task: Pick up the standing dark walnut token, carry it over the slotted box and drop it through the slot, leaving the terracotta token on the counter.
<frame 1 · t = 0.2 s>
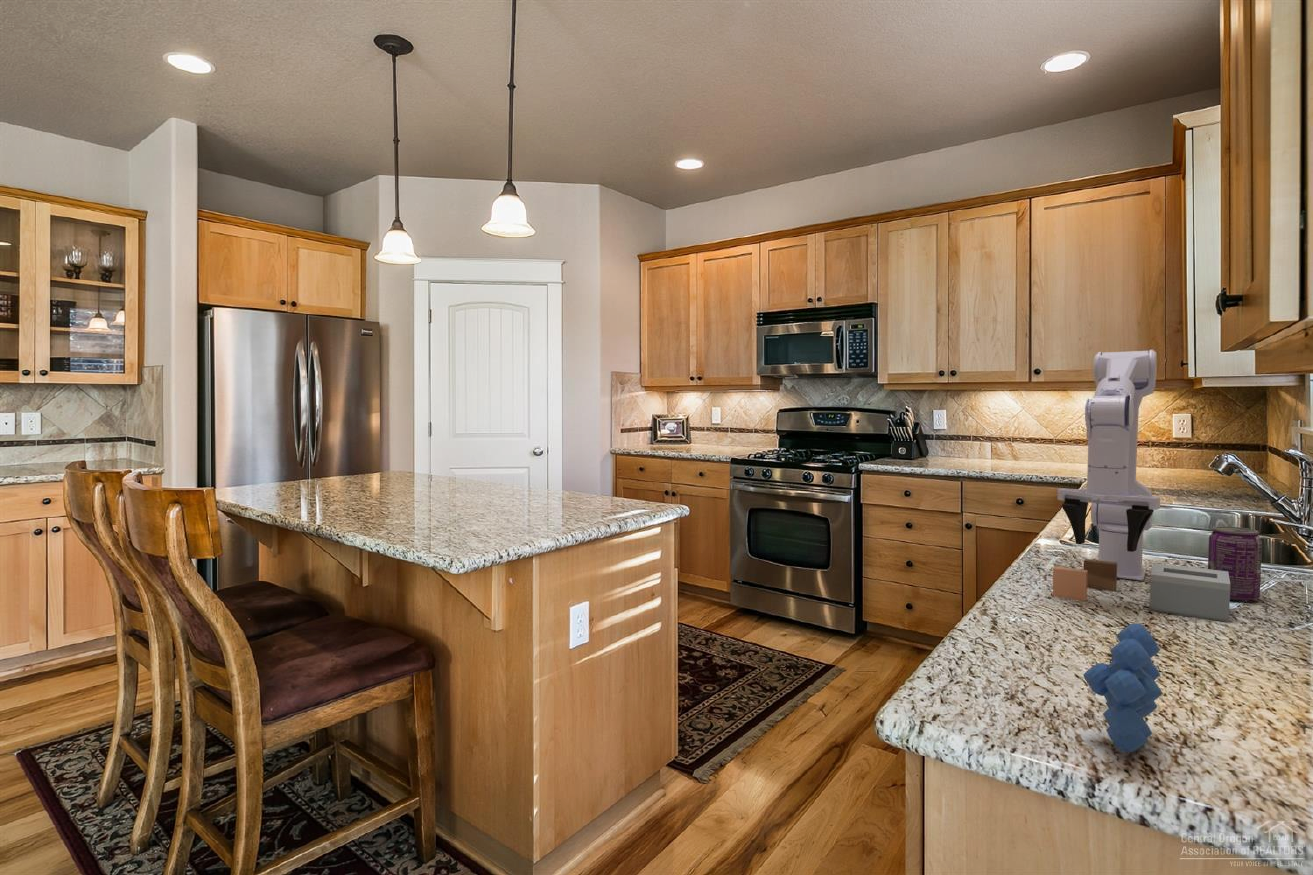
hand: (1105, 546, 116), 10 cm above the table, tool pointing down, fingers open, 7 cm apart
beverage can: (1232, 598, 120), on the table
terracotta token: (1069, 597, 121), on the table
grapes: (1119, 742, 70), on the table
coin box: (1188, 608, 114), on the table
walnut token: (1099, 588, 126), on the table
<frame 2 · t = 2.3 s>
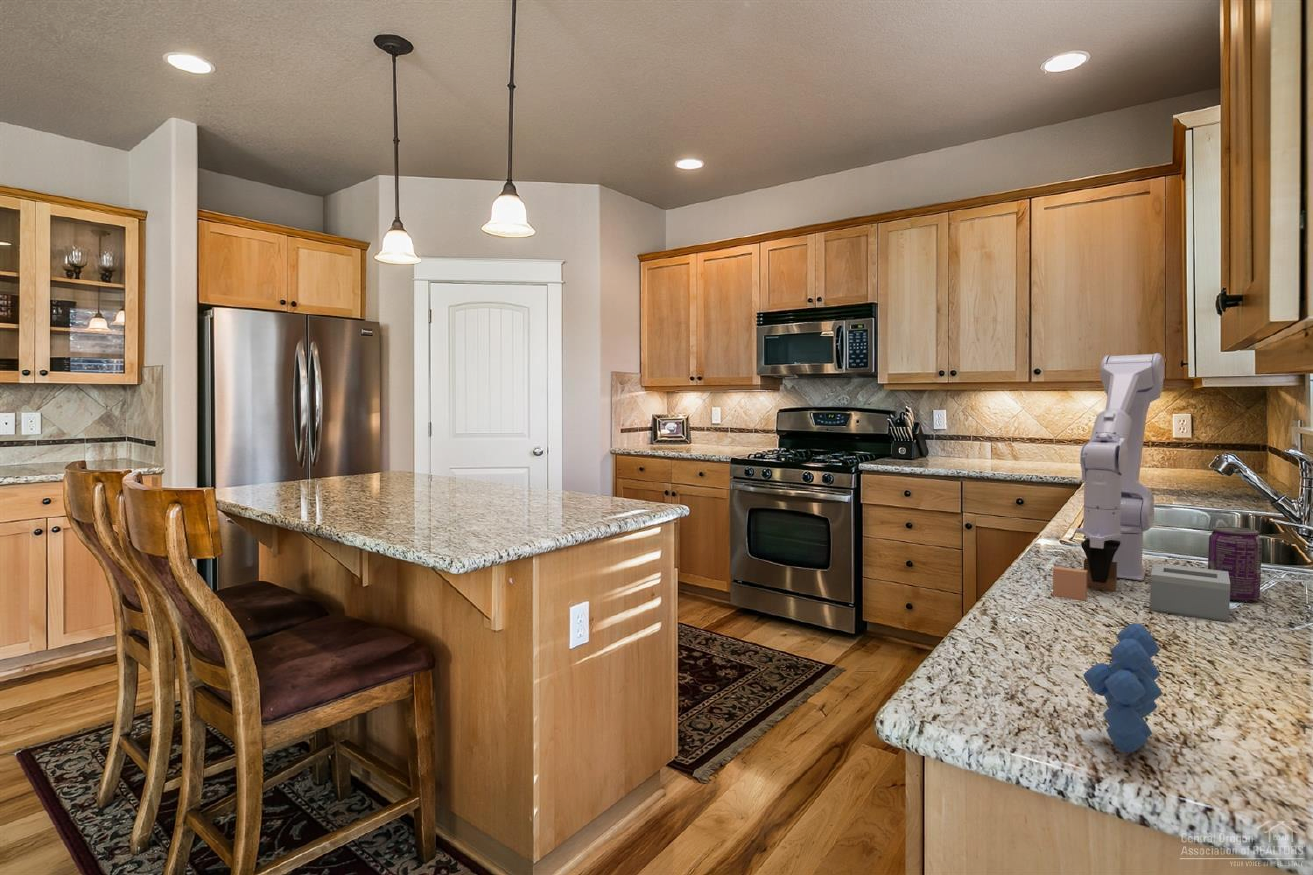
hand: (1099, 580, 126), 1 cm above the table, tool pointing down, fingers closed on walnut token, 2 cm apart
walnut token: (1099, 588, 126), on the table, touching gripper
everything else where it was.
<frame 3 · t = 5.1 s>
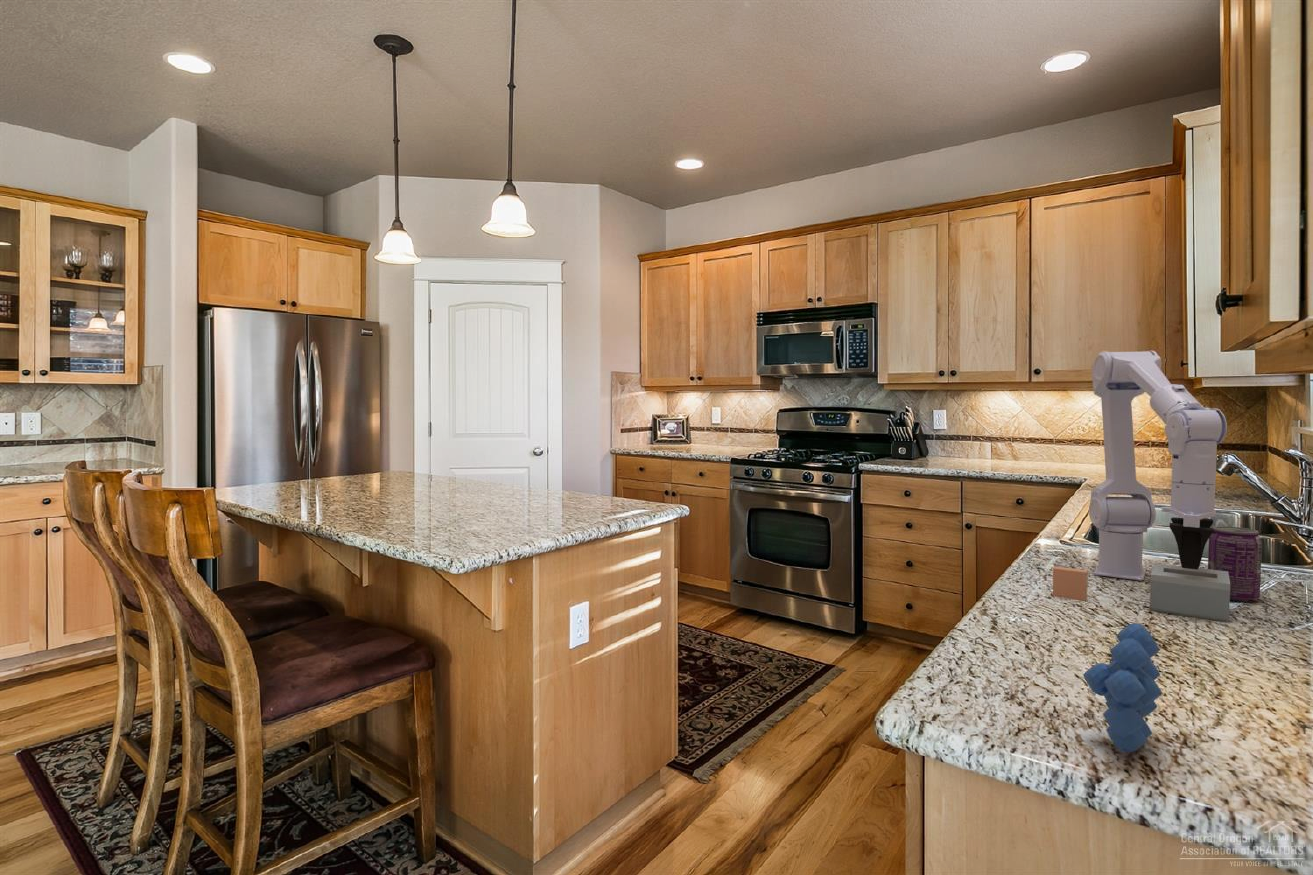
hand: (1190, 564, 113), 7 cm above the table, tool pointing down, fingers open, 6 cm apart
walnut token: (1189, 606, 114), resting on coin box
everything else where it was.
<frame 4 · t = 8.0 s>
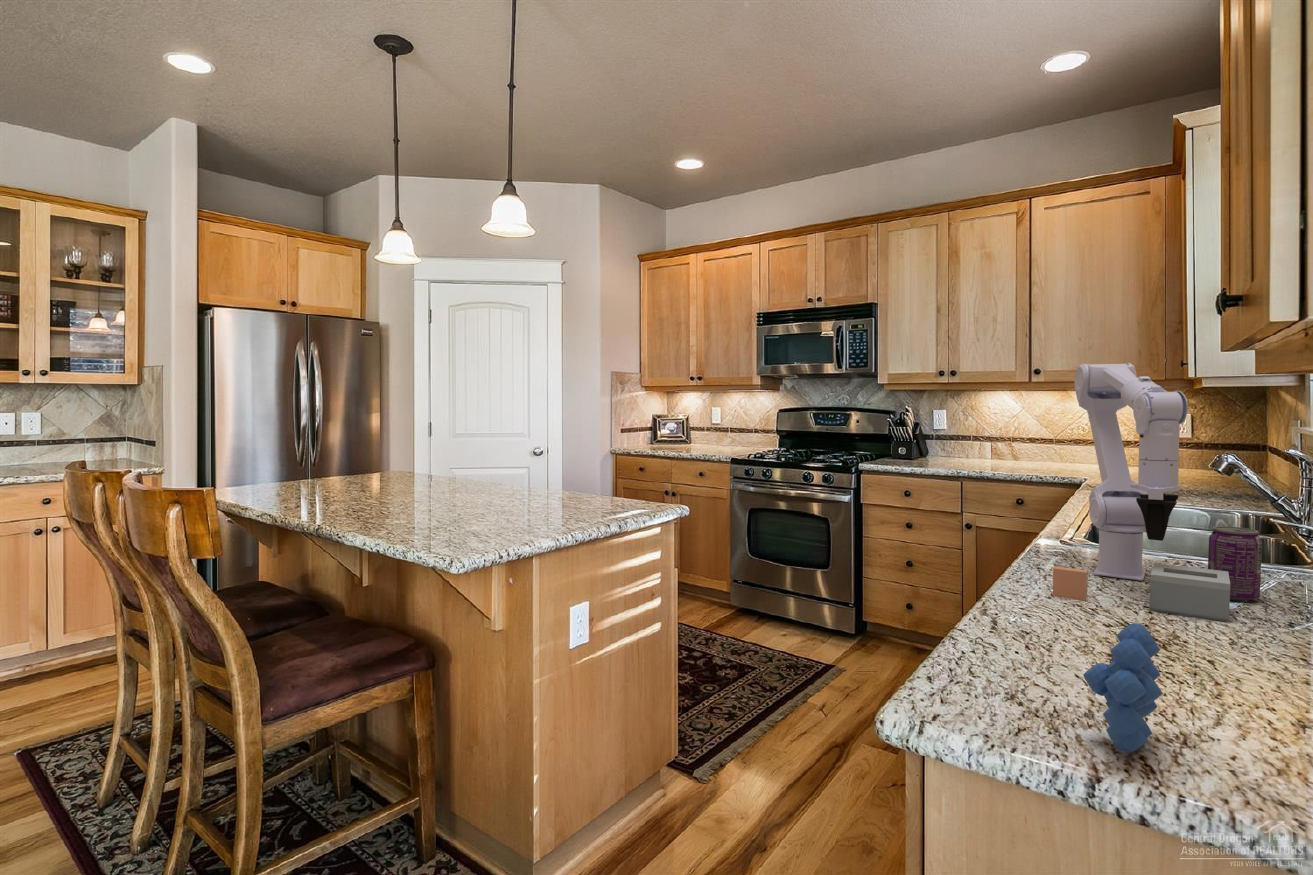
hand: (1156, 536, 121), 10 cm above the table, tool pointing down, fingers open, 7 cm apart
nothing on the table moved.
at the end: walnut token inside the target area on the coin box (0.1 cm from its centre), point 0.4 cm above the coin box's base; the gripper is holding nothing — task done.
